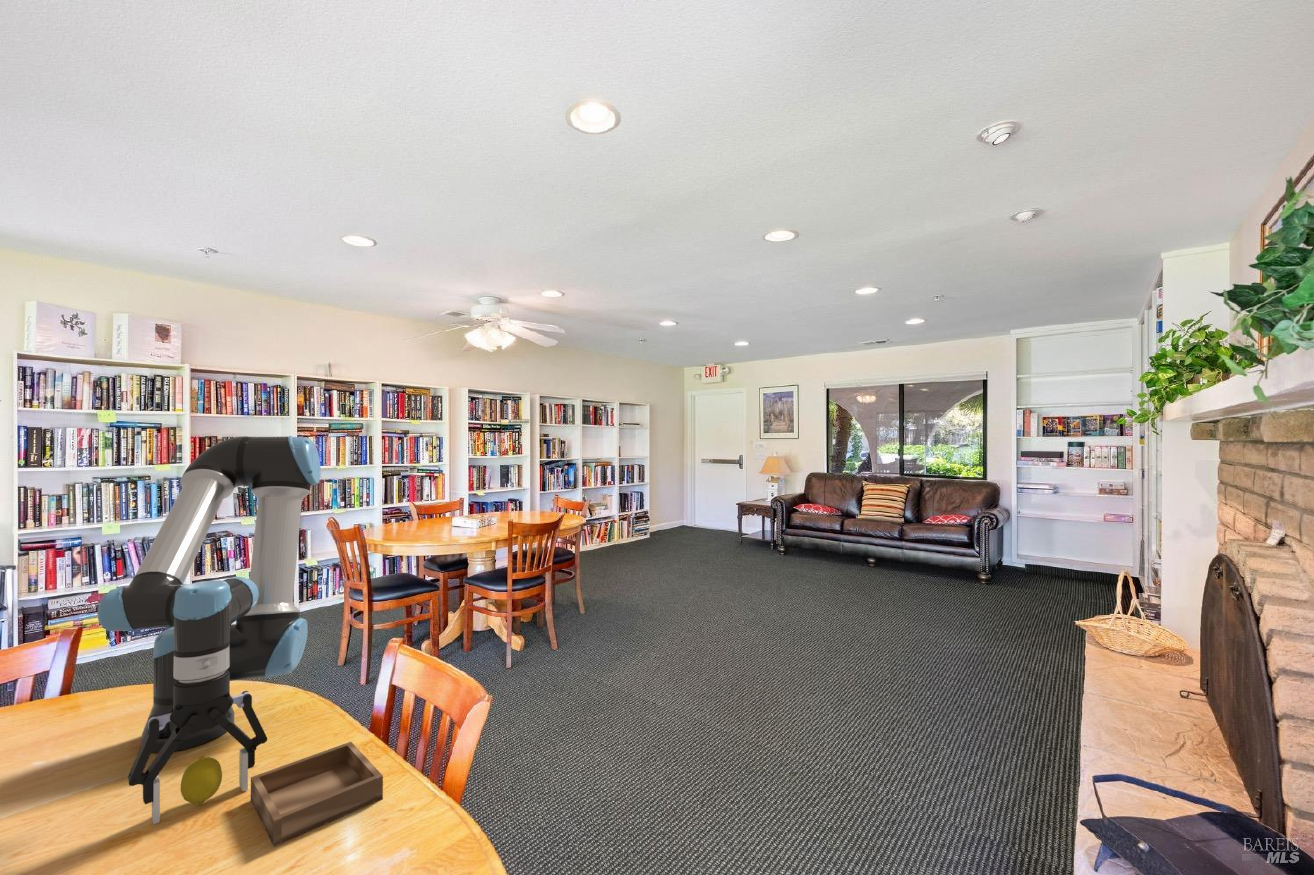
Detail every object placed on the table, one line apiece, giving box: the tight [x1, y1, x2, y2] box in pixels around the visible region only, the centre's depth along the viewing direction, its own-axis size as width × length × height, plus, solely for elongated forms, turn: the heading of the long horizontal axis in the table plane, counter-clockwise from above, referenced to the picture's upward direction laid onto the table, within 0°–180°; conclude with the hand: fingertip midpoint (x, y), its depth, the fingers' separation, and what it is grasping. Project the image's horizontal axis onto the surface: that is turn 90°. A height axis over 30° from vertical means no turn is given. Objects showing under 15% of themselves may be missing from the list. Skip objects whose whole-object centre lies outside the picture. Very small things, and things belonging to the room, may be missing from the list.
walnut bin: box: [250, 741, 384, 848], centre depth 97 cm, size 16×16×4 cm
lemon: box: [180, 755, 223, 805], centre depth 96 cm, size 6×6×8 cm
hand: (201, 802), depth 96 cm, fingers open, 11 cm apart
